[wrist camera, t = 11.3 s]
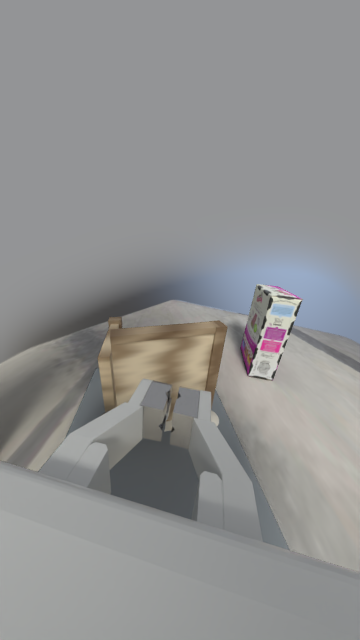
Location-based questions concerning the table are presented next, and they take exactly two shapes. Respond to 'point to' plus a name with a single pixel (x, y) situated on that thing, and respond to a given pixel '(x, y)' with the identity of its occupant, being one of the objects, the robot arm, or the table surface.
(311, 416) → the table surface
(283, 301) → the candy bar box
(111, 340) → the brown wooden panel
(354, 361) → the table surface
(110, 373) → the bar
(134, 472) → the card
